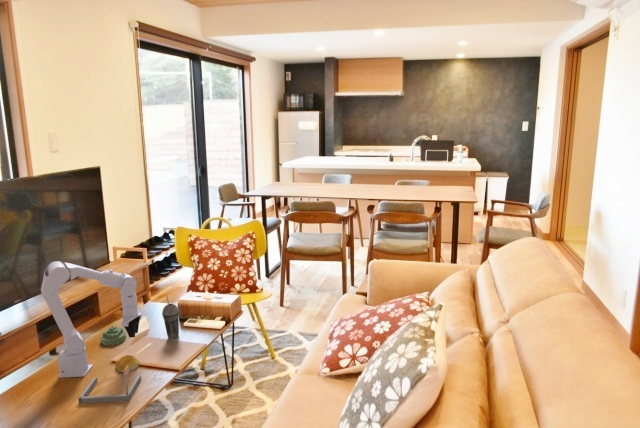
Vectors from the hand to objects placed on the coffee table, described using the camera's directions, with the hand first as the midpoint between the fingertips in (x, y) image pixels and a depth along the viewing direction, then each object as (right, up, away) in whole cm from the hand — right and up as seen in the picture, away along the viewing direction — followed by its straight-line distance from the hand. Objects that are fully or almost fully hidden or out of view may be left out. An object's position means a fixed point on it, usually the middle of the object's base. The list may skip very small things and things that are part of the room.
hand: (133, 335), depth 194 cm
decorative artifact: (-14, -6, +14) cm, 21 cm away
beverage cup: (+12, -5, +15) cm, 20 cm away
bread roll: (+1, -11, -8) cm, 13 cm away
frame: (+1, -14, -23) cm, 27 cm away
